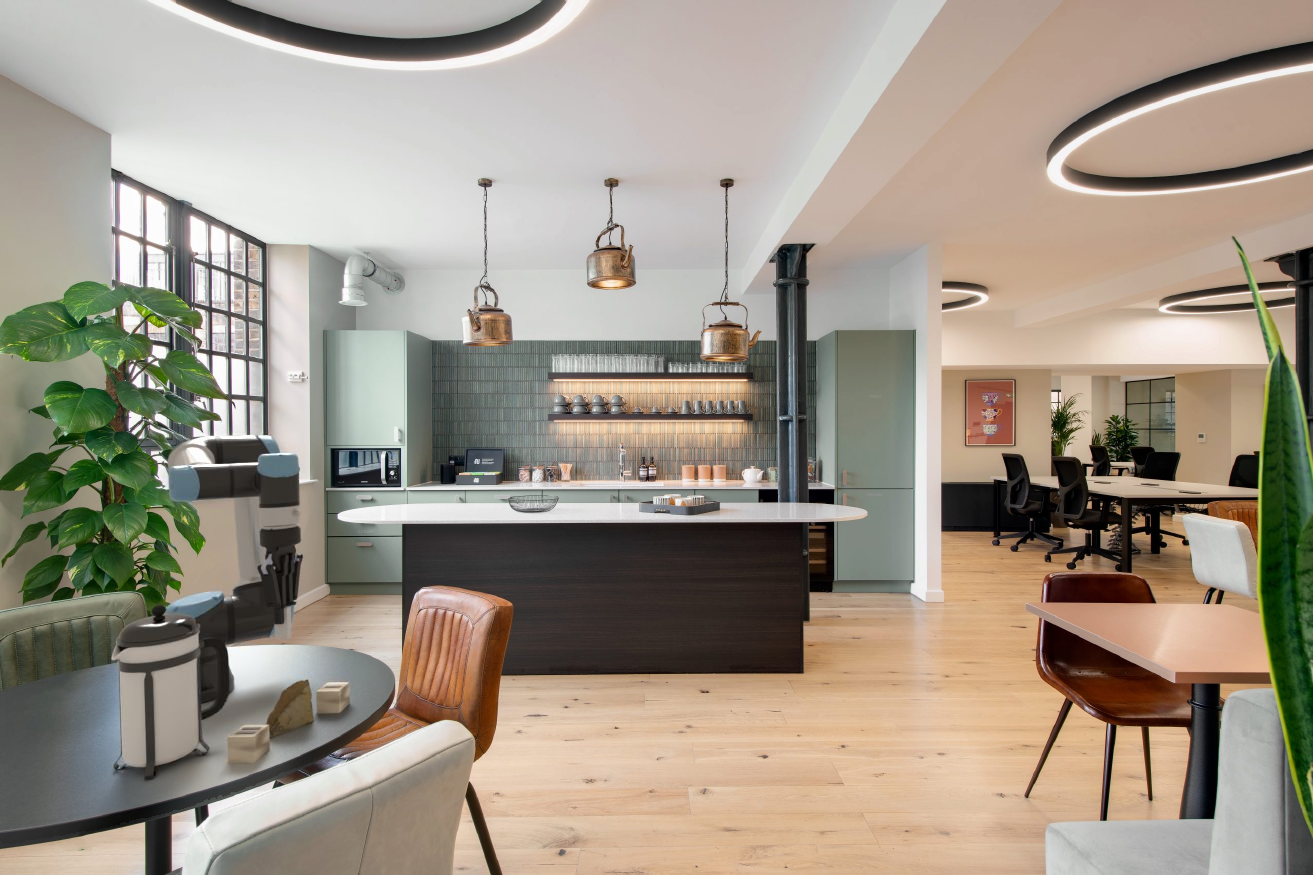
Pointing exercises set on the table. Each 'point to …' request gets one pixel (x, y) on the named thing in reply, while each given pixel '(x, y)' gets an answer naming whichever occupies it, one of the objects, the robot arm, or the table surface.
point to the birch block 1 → (248, 743)
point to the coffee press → (164, 689)
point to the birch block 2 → (333, 697)
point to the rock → (291, 709)
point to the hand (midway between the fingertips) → (283, 637)
